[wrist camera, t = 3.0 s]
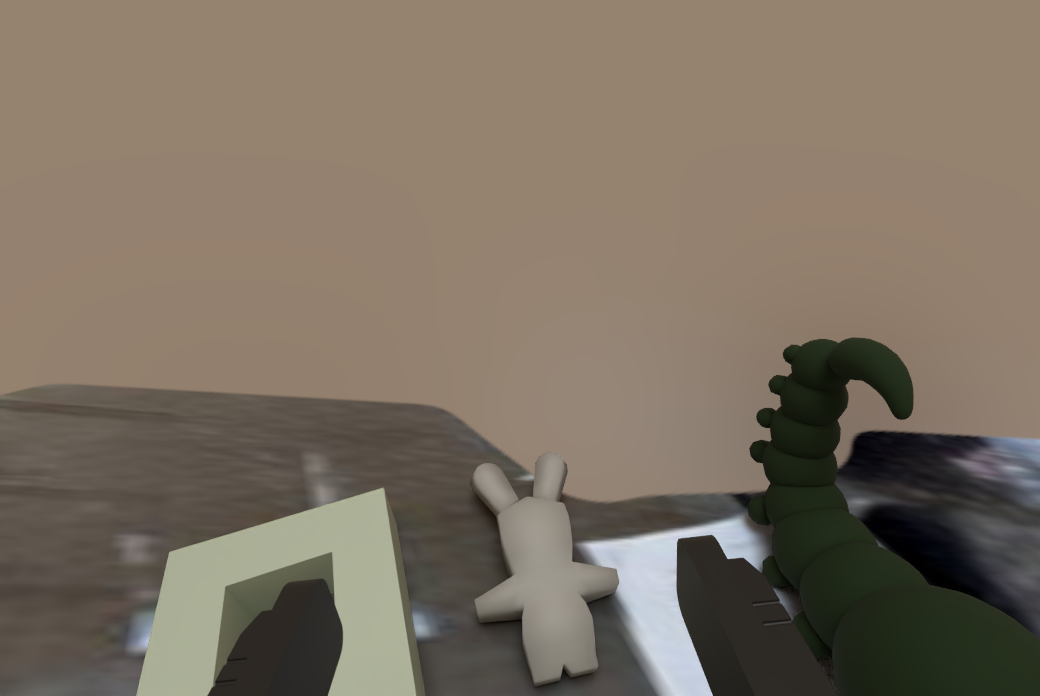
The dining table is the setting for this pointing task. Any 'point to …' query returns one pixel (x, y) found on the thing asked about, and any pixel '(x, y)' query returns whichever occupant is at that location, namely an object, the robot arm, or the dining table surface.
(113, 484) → the dining table surface
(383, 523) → the socket block
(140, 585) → the dining table surface
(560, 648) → the bunny figurine
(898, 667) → the toy figurine
